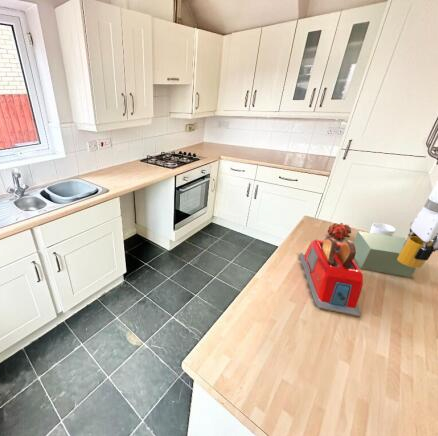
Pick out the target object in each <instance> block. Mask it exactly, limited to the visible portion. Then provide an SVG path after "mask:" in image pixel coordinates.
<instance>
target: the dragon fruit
mask: <svg viewBox="0 0 438 436" xmlns="http://www.w3.org/2000/svg"><path fill="white" fill-rule="evenodd" d="M327 233H328V236H329V237H328V238H333V239H335V240H337V239H338V241H343V240H346V238H347V239H349V238H351V235H350V234H352V228H351V227H350V225H349V224H344V223H343V222H340V223H333V224H332V225H329V227H328V229H327Z"/></svg>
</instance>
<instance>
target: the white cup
mask: <svg viewBox="0 0 438 436" xmlns="http://www.w3.org/2000/svg"><path fill="white" fill-rule="evenodd" d="M396 231H397V229H396V228H395V226H393V225H390V224H387V223H383V222H373V223H372V224H371V227H370V229H369V232H368V233H375V234H382V235H389V236H394V234H395V232H396Z"/></svg>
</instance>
